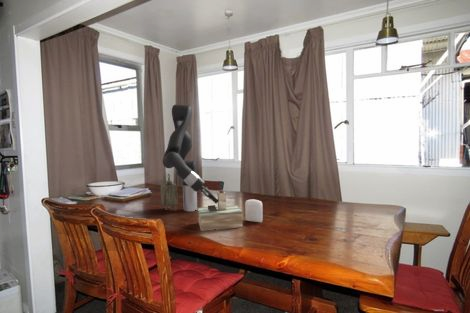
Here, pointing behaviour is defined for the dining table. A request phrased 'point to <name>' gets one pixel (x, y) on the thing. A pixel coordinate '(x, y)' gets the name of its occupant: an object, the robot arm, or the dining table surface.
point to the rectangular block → (220, 217)
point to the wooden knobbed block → (221, 200)
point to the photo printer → (253, 210)
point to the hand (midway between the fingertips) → (217, 202)
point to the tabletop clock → (169, 194)
